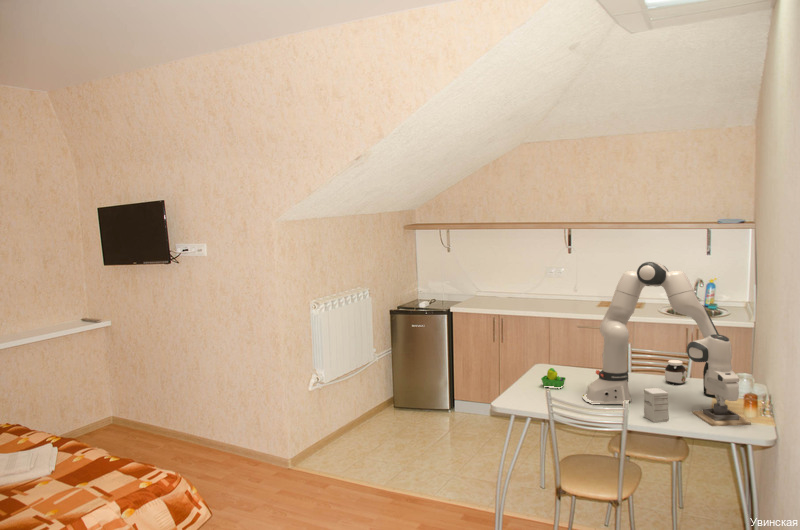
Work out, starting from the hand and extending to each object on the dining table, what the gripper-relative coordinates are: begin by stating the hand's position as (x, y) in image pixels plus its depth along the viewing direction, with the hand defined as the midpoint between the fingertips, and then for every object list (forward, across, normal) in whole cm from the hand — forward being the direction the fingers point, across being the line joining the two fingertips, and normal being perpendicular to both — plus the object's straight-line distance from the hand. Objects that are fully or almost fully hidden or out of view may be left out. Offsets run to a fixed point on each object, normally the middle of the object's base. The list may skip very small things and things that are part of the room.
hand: (720, 405), depth 238 cm
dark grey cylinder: (+5, 0, 0) cm, 5 cm away
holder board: (+6, 0, 0) cm, 6 cm away
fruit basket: (+6, -56, -57) cm, 80 cm away
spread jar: (+6, -57, +7) cm, 58 cm away
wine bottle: (+6, -32, +14) cm, 35 cm away
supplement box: (+6, -3, -26) cm, 27 cm away
